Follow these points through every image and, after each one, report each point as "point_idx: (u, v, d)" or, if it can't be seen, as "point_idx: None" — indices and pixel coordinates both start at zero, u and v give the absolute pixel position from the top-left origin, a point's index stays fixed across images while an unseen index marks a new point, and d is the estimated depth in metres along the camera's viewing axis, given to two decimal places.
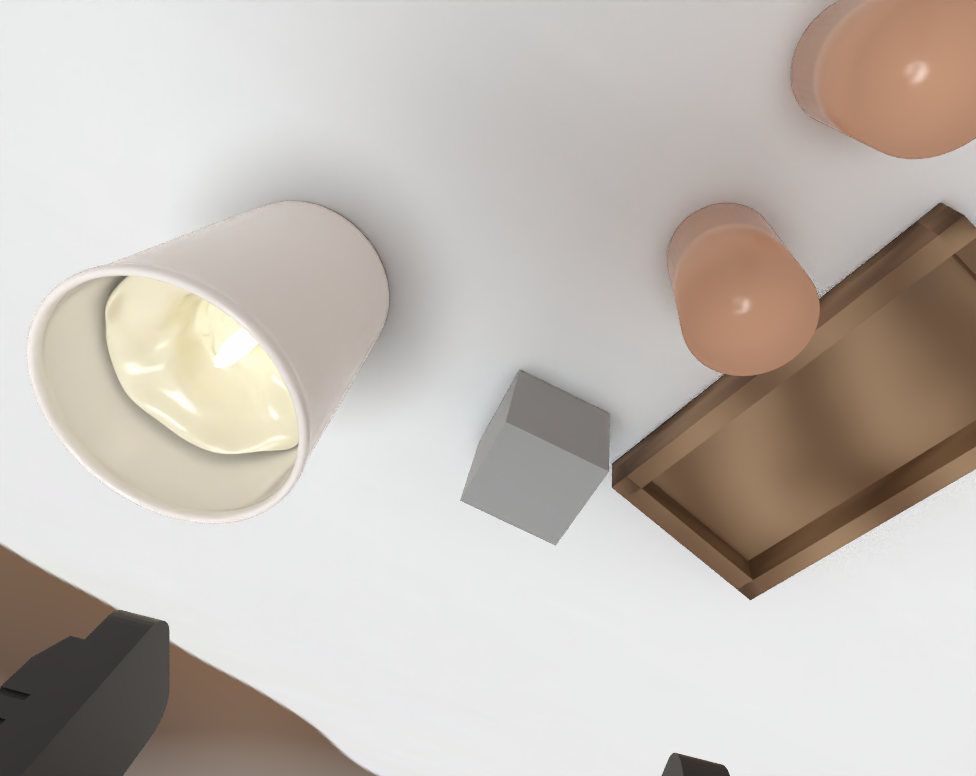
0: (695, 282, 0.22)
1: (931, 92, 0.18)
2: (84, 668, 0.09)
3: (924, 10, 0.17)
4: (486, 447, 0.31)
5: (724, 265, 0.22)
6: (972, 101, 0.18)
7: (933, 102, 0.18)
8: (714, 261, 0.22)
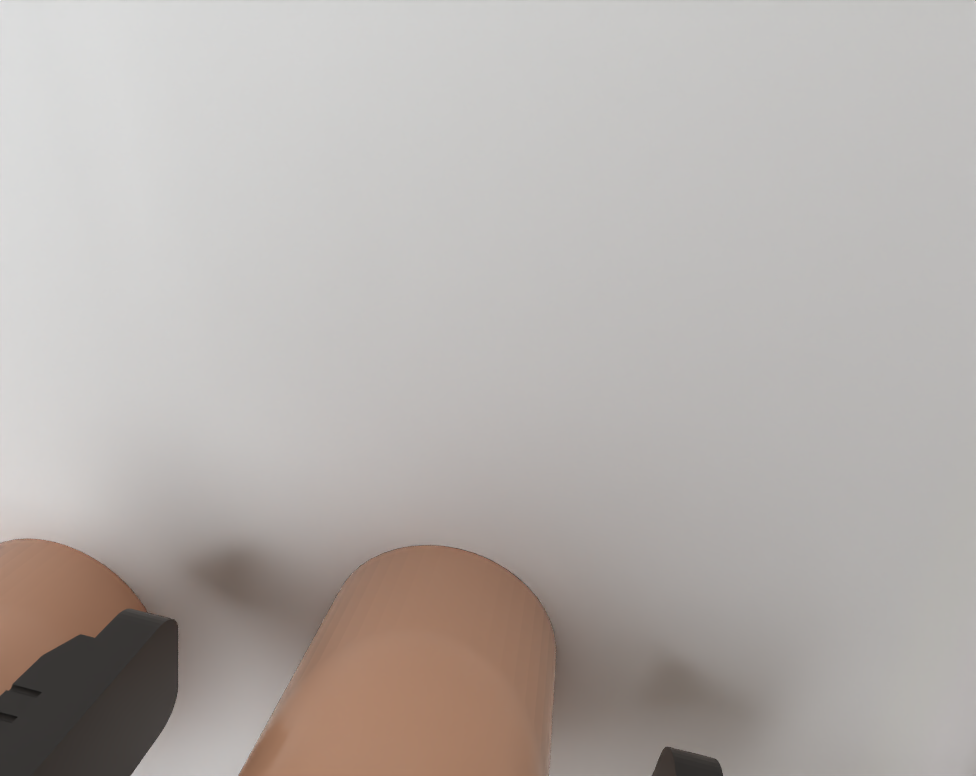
0: None
1: None
2: (95, 666, 0.09)
3: None
4: None
5: None
6: None
7: None
8: None
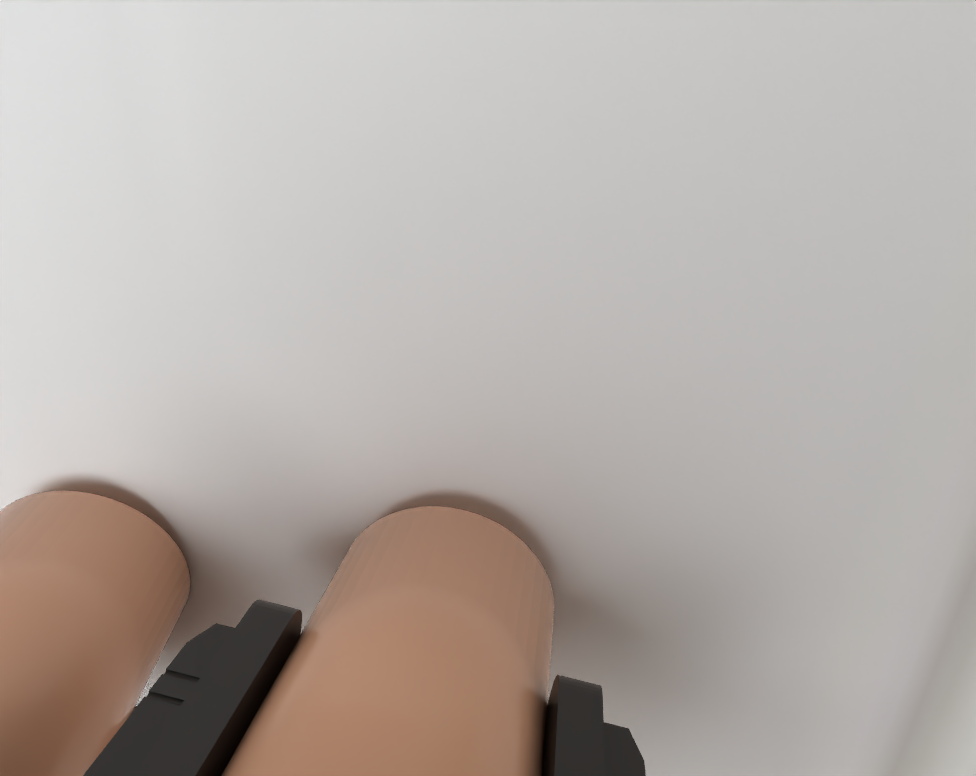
0: None
1: None
2: (243, 652, 0.10)
3: None
4: None
5: None
6: None
7: None
8: None
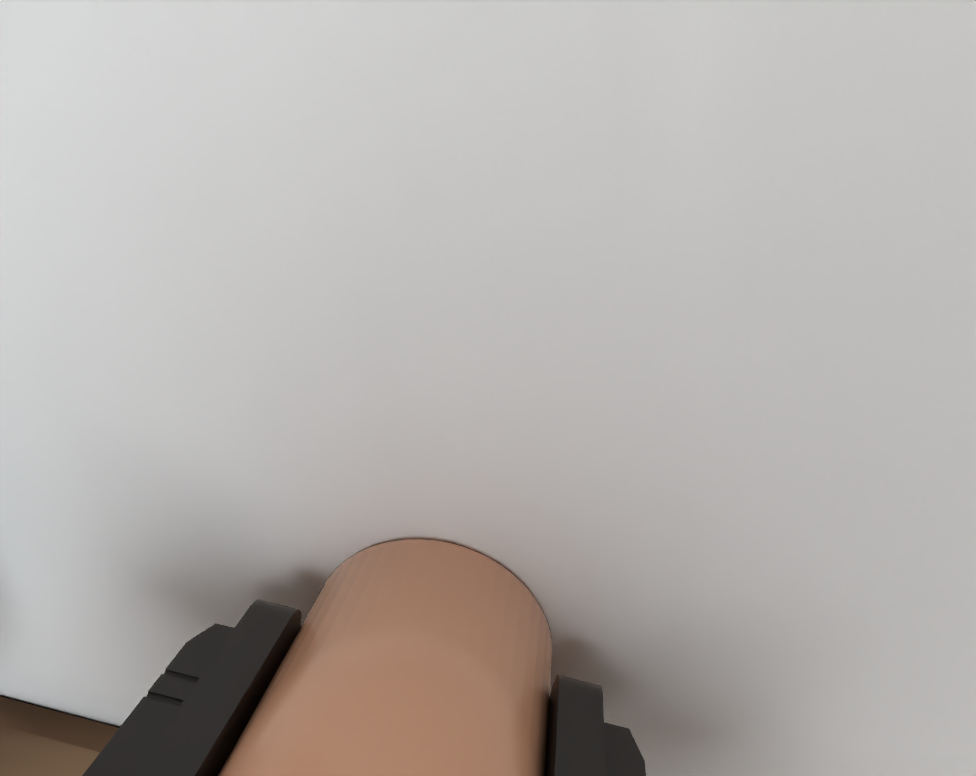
0: None
1: None
2: (243, 652, 0.10)
3: None
4: None
5: None
6: None
7: None
8: None
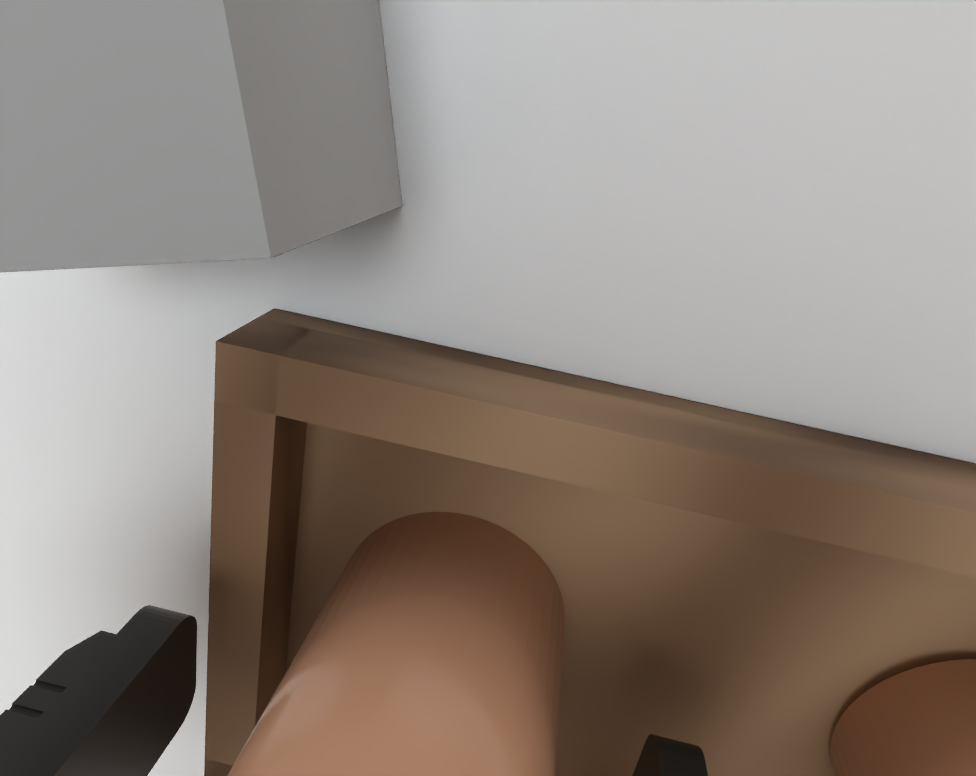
0: None
1: None
2: (118, 661, 0.09)
3: None
4: None
5: None
6: None
7: None
8: None
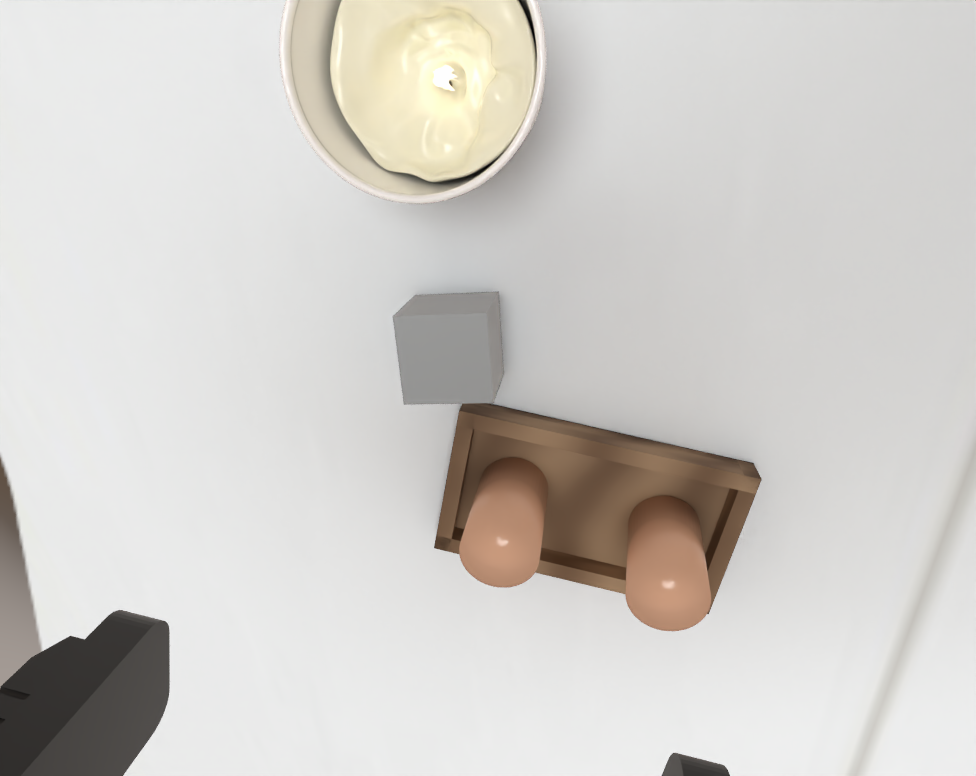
0: (491, 518, 0.35)
1: (663, 602, 0.35)
2: (84, 668, 0.09)
3: (673, 570, 0.34)
4: (444, 308, 0.35)
5: (510, 523, 0.35)
6: (678, 615, 0.35)
7: (662, 606, 0.35)
8: (508, 516, 0.35)
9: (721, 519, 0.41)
